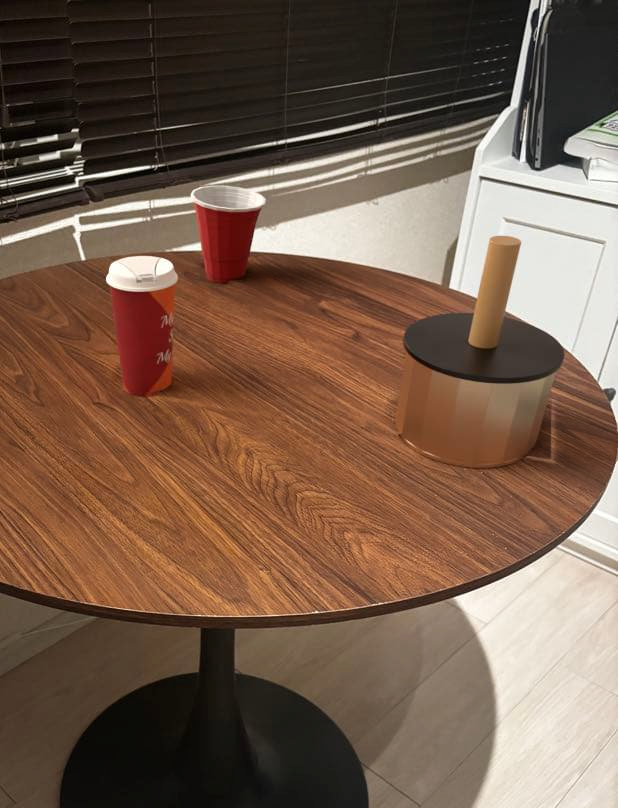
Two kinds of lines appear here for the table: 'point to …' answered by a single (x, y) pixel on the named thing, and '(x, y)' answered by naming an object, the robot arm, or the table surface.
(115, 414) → the table surface
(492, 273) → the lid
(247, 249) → the plastic cup
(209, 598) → the table surface
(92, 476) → the table surface
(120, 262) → the paper cup
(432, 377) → the pot
